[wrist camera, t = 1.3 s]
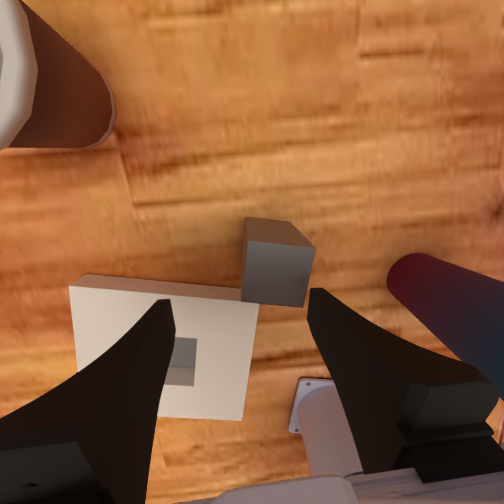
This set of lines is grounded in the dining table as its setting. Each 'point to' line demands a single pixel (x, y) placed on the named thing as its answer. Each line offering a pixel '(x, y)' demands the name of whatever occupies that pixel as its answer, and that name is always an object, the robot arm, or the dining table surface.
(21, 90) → the coffee cup
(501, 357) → the cup
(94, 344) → the socket plate
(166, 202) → the dining table surface
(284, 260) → the plug
